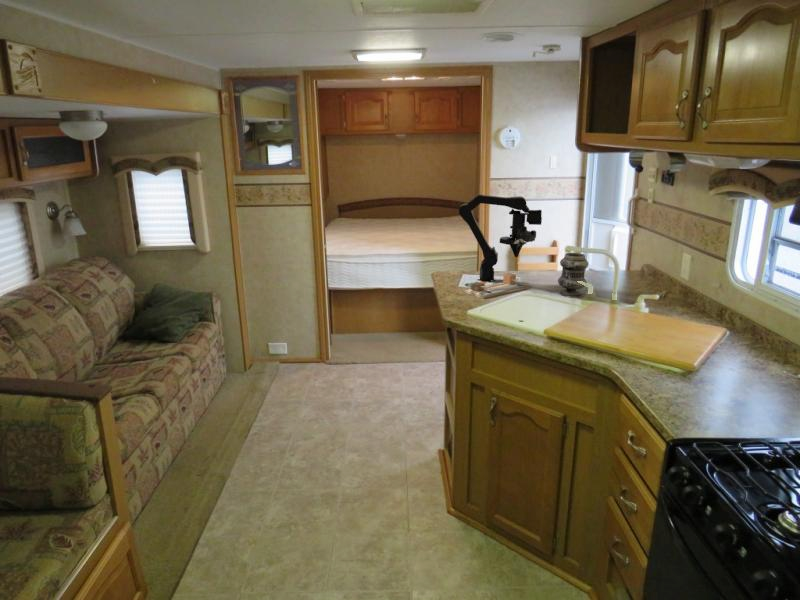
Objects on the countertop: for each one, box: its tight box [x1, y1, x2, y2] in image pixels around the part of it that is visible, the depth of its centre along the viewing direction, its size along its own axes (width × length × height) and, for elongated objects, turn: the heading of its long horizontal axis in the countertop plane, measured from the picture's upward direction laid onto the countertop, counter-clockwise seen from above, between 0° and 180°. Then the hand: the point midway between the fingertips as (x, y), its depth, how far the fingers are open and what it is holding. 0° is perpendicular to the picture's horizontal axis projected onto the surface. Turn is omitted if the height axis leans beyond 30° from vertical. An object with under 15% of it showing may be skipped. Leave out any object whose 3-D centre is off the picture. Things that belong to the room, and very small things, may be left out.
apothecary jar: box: [557, 252, 589, 298], centre depth 239 cm, size 12×12×18 cm
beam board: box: [464, 281, 531, 299], centre depth 248 cm, size 12×30×2 cm, turn 127°
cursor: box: [502, 272, 523, 284], centre depth 253 cm, size 10×4×4 cm, turn 37°
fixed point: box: [470, 281, 490, 292], centre depth 242 cm, size 10×4×3 cm, turn 37°
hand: (516, 257), depth 259 cm, fingers closed
